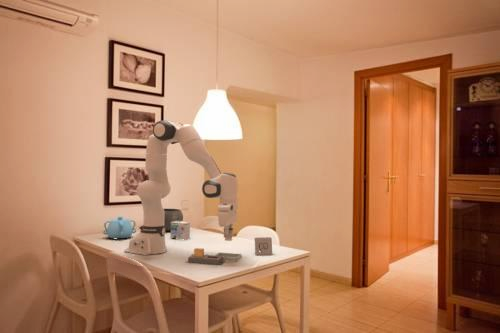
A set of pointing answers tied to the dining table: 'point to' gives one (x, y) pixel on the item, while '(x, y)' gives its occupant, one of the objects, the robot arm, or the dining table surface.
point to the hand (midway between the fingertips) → (228, 233)
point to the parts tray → (229, 256)
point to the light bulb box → (180, 230)
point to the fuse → (198, 252)
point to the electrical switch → (263, 246)
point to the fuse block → (206, 260)
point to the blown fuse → (228, 235)
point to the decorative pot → (119, 228)
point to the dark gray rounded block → (172, 217)
